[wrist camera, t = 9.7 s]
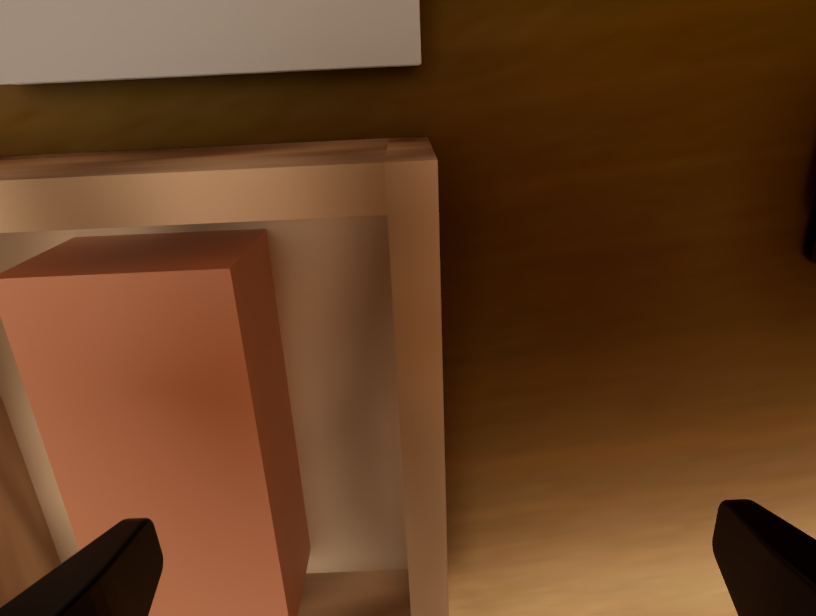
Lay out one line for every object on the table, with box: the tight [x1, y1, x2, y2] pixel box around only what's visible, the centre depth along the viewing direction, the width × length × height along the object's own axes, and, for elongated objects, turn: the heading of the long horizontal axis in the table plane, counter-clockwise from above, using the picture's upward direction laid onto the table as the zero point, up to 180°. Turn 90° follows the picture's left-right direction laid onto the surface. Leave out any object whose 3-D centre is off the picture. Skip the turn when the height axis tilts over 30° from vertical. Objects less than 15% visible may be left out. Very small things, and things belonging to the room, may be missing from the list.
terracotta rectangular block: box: [0, 229, 311, 616], centre depth 18 cm, size 6×13×4 cm, turn 2°
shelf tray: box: [0, 136, 449, 616], centre depth 19 cm, size 16×18×6 cm
